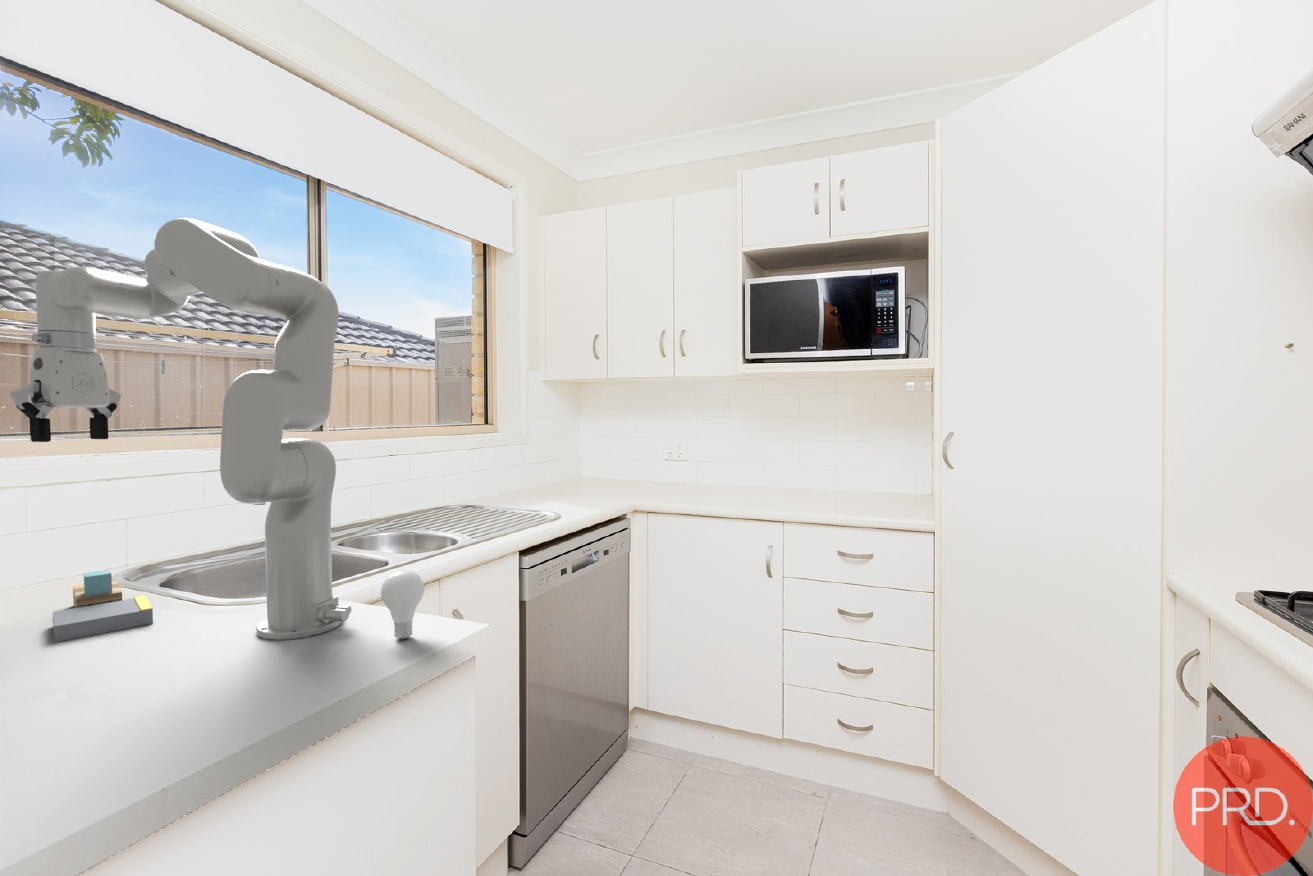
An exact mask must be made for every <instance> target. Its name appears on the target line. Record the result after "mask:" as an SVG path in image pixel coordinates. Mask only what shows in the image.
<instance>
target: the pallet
mask: <svg viewBox="0 0 1313 876" xmlns="http://www.w3.org/2000/svg"><path fill="white" fill-rule="evenodd" d="M72 594H73V595H72V598H73V608H79V607H85V606H89V605H90V606H91V605H97V604H103V603H109V602H115V601H121V600H123V591H122V590H121V588H120V585H119V583H118V581H117V579H112V593H107V594H100V595H94V596H88V597H86V596H85V593H84V583H83V584H75V585H72Z"/></svg>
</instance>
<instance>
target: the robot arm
mask: <svg viewBox="0 0 1313 876" xmlns="http://www.w3.org/2000/svg"><path fill="white" fill-rule="evenodd" d="M160 226H161V227H159V228H158V230H157V231H156V233H155V237H154V242H153V244H154V245H153V247H154V248H153V249H151V250H150V251H148V253H147V254H146V255H145V258H144V263H143V266H144V272H145V274H146V277H136V276H131V275H127V274H121V273H116V272H112V271H107V270H102V269H97V268H91V267H87V266H86V267H85V266H73V267H69V268H67V269H63V270H44V271H40V272H38V274H36V277H35V301H36V302H35V303H36V305H35V306H36V323H37V326H36V327H37V330H36V331H37V333H33V334H32V335H31V340H32V341H33V342H35V343H36V342H37V349H34V350H33V351H34V352H33V355H32V358H31V359H32V360H31V366H30V371H29V372H30V373H29V384H25V385H24V386H21V387H19V388H16V389H14V390H11V391H10V392H9V396H10V397H11V399H12V400H13V402H14V403H15V405H16V408H17V409H18V410H19V411H20V412H21V413H23V414H24V417H25V419H28V420H29V423H28V424H29V436H30V441H31V442H32V443H50V442H51V440H52V434H51V431H52V430H51V419H50V418H46V417H47V416H48V415H49V414H50V413H51V412H52V410H53V409H54V408H85V409H86V410H87V411H88V412H89V413H90V414H91V415H92V416H93V417H89V438H90V439H91V440H108V439H109V418H111V417H112V416H113V414H112V413H114V411H116V410H117V408H118V406H117V405H119V402H120V400H121V397H122V395H121V394H120V393H118V392H117V391H115V390H114V389H111V388H110V387H109V379H108V373H107V368H106V364H105V360H104V357H103V355H102V353H99V352H98V353H97V351H98V349H97V330H96V329H97V326H96V324H97V322H96V321H97V320H96V314H99V315H107V316H114V317H120V318H125V319H126V318H127V319H134V320H135V319H136V320H142V319H143V320H145V319H146V320H147V319H154V318H157V317H161V316H165V315H169V314H172V313H175V312H178V311H180V310H181V309H183V307H184V306H185V305H186V304H187V302H189V299H190V298H191V296H194V295H198V294H201V293H203V294H204V295H206V296H207V297H209V298H210V299H212V300H213V301H215V302H216V303H218V304H220V305H222V306H224V307H227V308H229V309H231V310H235V311H240V312H243V313H244V312H246V313H251V314H255V315H260V316H267V317H272V318H278V319H282V320H285V321H286V323H285V325H283V327H282V328H281V330H280V331H279V334H278V335H277V337H276V340H275V344H274V347H273V363H272V369H271V370H269V369H268V370H267V369H257V370H250V371H246V372H244V373H242V374H240V375H239V376H238V377H236V378H235V379H234V380H233V381H232V383H231V384H230V386H229V387H228V389H227V391H226V393H225V396H224V400H223V406H222V407H223V408H222V419H221V420H222V421H221V435H220V436H221V440H220V459H219V470H220V471H219V473H220V479H221V483H222V486H223V488H224V490H225V491H226V493H227V494H228V495H229V496H230V497H231V498H232V499H234V500H235V501H237V502H240V503H243V504H254V505H255V504H262V503H269V502H270V504H269V507H268V511H267V513H266V518H265V524H264V544H265V546H264V548H265V551H264V552H265V576H266V577H265V579H266V581H265V583H266V585H265V586H266V610H267V612H266V613H267V615H266V617H267V618H266V619H263V620H261V621H260V622H259V623H258V624H257V625H256V629H255V631H256V632H255V633H256V635H257V636H258V637H260V638H262V639H266V640H277V641H278V640H293V639H301V638H306V637H307V638H308V637H312V636H315V635H320V634H322V633H325V632H328V631H330V630H334V629H335V628H337V627H338V626H339V625H341V624H342V623H343V622H347V621H348V619H349V617H350V614H351V613H352V606H350V605H340V604H339V596H334V595H333V569H332V566H333V564H332V562H333V561H332V499H333V493H334V492H333V491H334V487H335V482H336V475H337V466H336V465H337V464H336V460H335V457H334V454H333V453H332V451H331V450H330V449H329V447H328V446H326V445H325V444H324V443H322V442H321V441H318V440H316V439H315V440H314V439H310V438H300V437H299V438H298V437H295V438H283V435H284V434H283V433H284V432H297V431H298V432H300V431H301V432H302V431H303V432H304V431H309V430H314V429H316V428H317V429H318V428H319V427H321V426H322V425H324V424H325V423H326V421H327V420H328V418H329V415H330V410H331V403H332V402H331V401H332V390H333V389H332V386H333V372H334V353H335V351H334V350H335V343H336V337H337V331H338V325H339V315H340V313H339V305H338V303H337V299H336V298H335V295H334V293H333V292H332V291H331V289H330V288H329V287H328V286H327V285H326V284H325V283H323V282H322V281H320V280H319V279H318V278H316V277H314V276H313V275H310V274H307V273H306V272H303V271H300V270H298V269H295V268H292V267H288V266H285V265H282V264H277V263H273V262H270V261H267V260H264V259H260V256H259V252H258V251H257V249H256V248H255V246H254V245H253V244H252V243H251V242H250V241H249V240H248V239H247V238H245V237H244V236H242V235H240V234H238V233H236V232H233V231H230V230H227V229H225V228H221V227H219V226H216V225H213V224H210V223H207V222H204V221H201V220H198V219H194V218H190V217H189V218H188V217H181V218H174V219H171V220H168V221H167V222H166V223H163V224H162V225H160ZM29 398H30V401H29Z"/></svg>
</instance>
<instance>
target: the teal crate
mask: <svg viewBox="0 0 1313 876" xmlns="http://www.w3.org/2000/svg"><path fill="white" fill-rule="evenodd" d="M112 580H113V579H112V571H111V569H105V570H99V571H92V572H84V573H83V584H84V593H85V596H86V597H88V596H94V595H100V594H107V593H112Z"/></svg>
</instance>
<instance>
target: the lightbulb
mask: <svg viewBox="0 0 1313 876" xmlns="http://www.w3.org/2000/svg"><path fill="white" fill-rule="evenodd" d="M424 592H425V585H424V581H423V580H422V578H421V576H420V575H419V574H418V573H416V572H414V571H412V570H410V569H409V570H408V569H399V570H396V571H393V572H392V573H390V574H389V575H388V576H387V577H386V578H385V579H384V581H383V583H382V584H381V587H380V597H381V600H382V602H383V604H384V606H385V607H387V609H388V610H389V611H390V615H391V619H392V621H393V625H394V626H393V628H394V631H393V632H394V634H393V636H394V637H395V638H397V639H398V640H406V639H408V638H410V637H411V636H412V635H413V619H414V616H415V613H416V609H417V607H418V605H419V603H420V602H421V600H422V599H423V596H424Z"/></svg>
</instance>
